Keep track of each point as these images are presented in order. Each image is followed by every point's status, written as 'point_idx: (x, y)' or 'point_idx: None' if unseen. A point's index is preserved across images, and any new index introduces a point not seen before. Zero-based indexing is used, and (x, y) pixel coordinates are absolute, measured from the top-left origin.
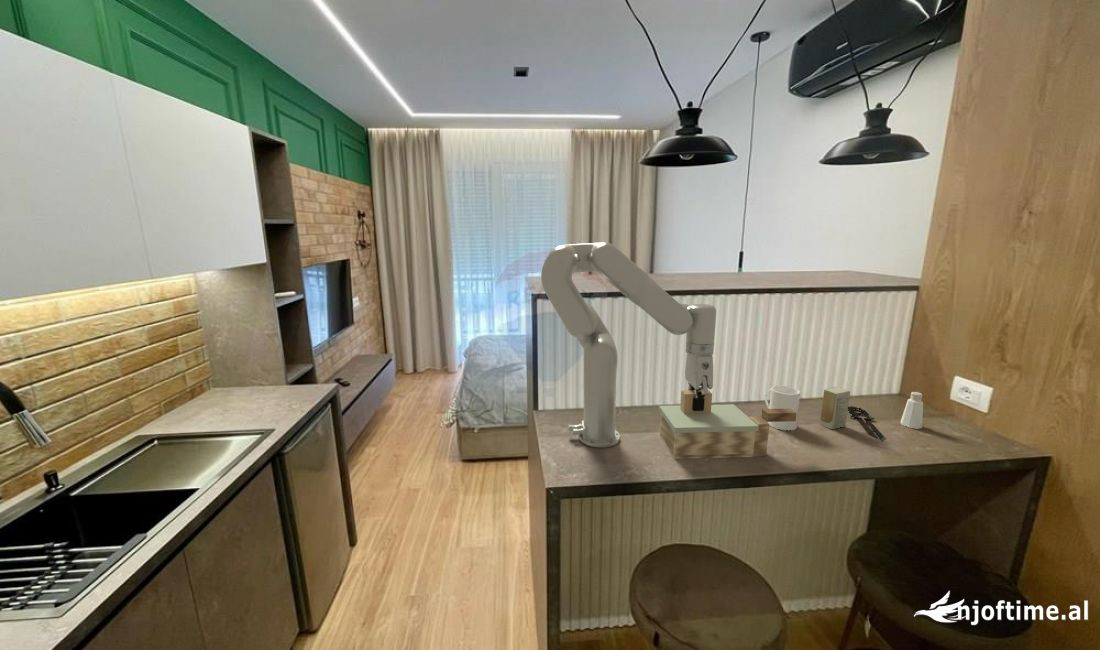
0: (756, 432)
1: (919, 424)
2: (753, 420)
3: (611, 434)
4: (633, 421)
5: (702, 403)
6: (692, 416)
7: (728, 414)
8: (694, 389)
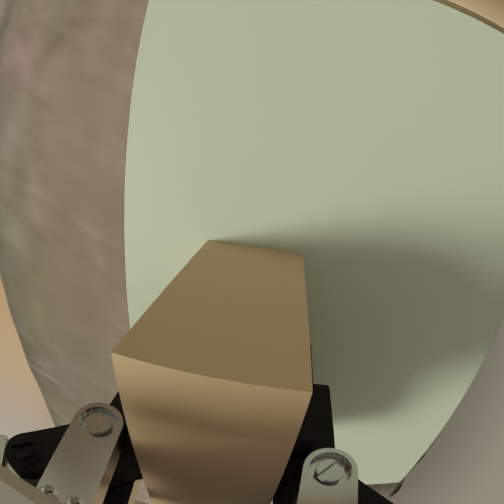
0: None
1: None
2: (481, 15)
3: None
4: (99, 380)
5: (331, 418)
6: None
7: (364, 109)
8: (118, 466)
